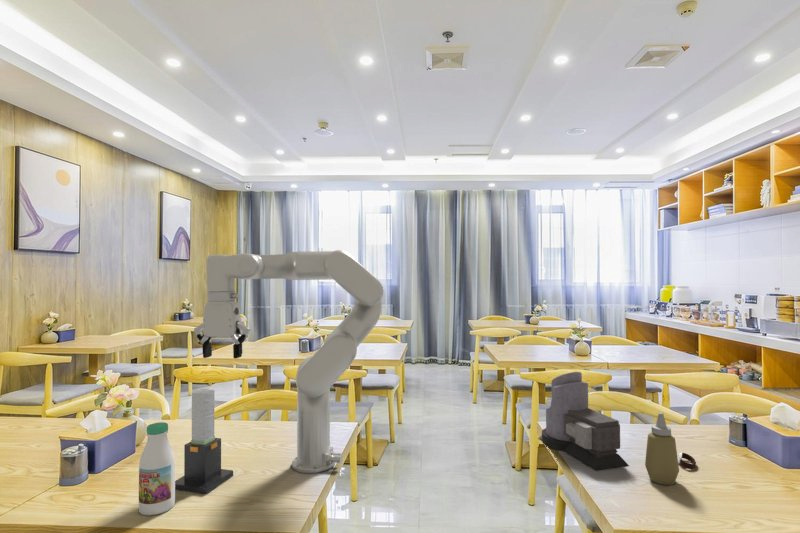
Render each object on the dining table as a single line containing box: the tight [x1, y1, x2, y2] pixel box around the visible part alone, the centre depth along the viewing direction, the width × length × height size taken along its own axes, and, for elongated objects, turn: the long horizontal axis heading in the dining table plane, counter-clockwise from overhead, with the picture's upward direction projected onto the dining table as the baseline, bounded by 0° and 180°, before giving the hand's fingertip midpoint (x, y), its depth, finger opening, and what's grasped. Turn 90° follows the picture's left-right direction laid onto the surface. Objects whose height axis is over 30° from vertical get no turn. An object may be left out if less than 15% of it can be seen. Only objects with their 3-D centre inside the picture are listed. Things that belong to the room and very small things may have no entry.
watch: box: [677, 451, 697, 470], centre depth 132 cm, size 8×5×4 cm, turn 150°
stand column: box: [190, 388, 216, 446], centre depth 123 cm, size 4×4×17 cm
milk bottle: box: [138, 421, 176, 516], centre depth 109 cm, size 8×8×20 cm
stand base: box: [175, 437, 234, 495], centre depth 122 cm, size 11×11×11 cm
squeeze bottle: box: [644, 412, 680, 486], centre depth 122 cm, size 8×8×18 cm
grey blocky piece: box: [537, 371, 630, 472], centre depth 144 cm, size 30×16×24 cm, turn 17°
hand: (222, 357), depth 130 cm, fingers open, 9 cm apart
